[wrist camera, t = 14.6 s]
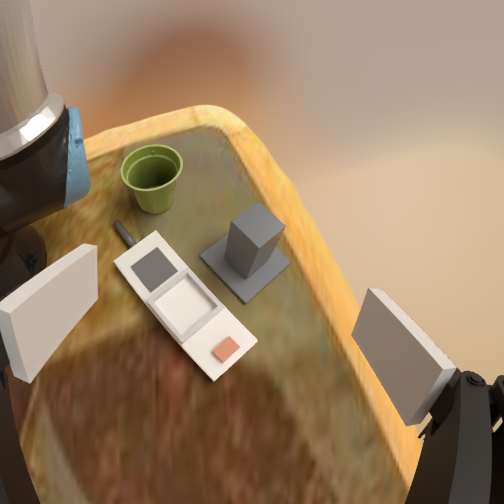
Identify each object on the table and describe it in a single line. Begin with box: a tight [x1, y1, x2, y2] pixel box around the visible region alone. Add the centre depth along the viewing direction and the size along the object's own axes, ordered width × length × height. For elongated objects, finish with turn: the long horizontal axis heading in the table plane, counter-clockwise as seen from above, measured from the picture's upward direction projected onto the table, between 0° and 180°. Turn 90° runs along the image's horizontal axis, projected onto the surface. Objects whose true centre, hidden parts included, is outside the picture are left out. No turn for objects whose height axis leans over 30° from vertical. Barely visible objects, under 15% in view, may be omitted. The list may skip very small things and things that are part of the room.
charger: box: [224, 201, 286, 280], centre depth 40 cm, size 5×5×10 cm
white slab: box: [113, 220, 258, 382], centre depth 39 cm, size 28×8×3 cm, turn 45°
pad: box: [200, 233, 291, 304], centre depth 45 cm, size 10×10×1 cm
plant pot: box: [121, 145, 183, 214], centre depth 43 cm, size 9×9×9 cm
